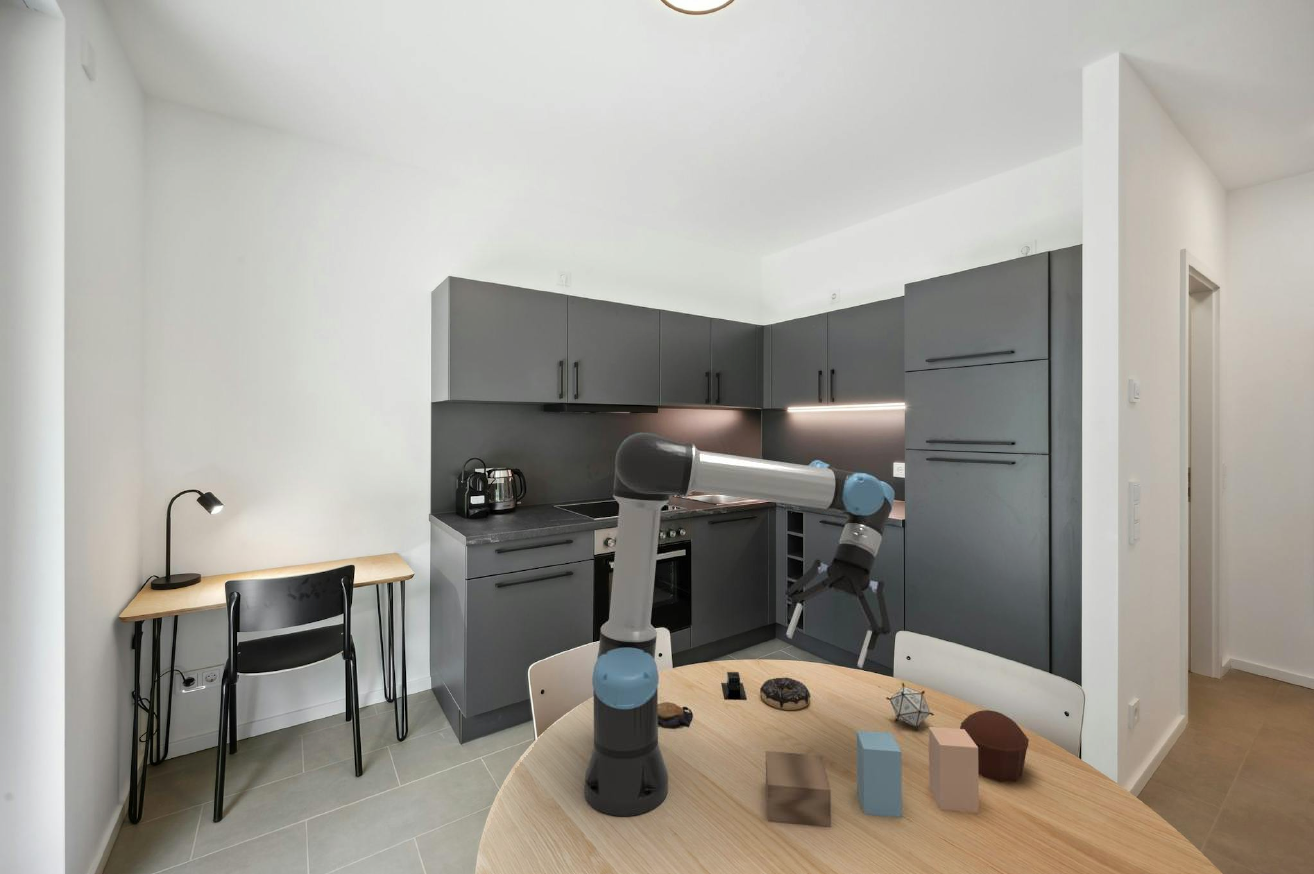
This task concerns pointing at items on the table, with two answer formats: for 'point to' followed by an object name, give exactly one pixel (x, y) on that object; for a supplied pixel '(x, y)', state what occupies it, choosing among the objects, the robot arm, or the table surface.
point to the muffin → (997, 745)
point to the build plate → (733, 687)
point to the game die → (910, 706)
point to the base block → (797, 789)
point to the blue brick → (879, 774)
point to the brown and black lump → (673, 716)
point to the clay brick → (953, 769)
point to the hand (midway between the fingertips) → (823, 651)
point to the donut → (785, 693)
